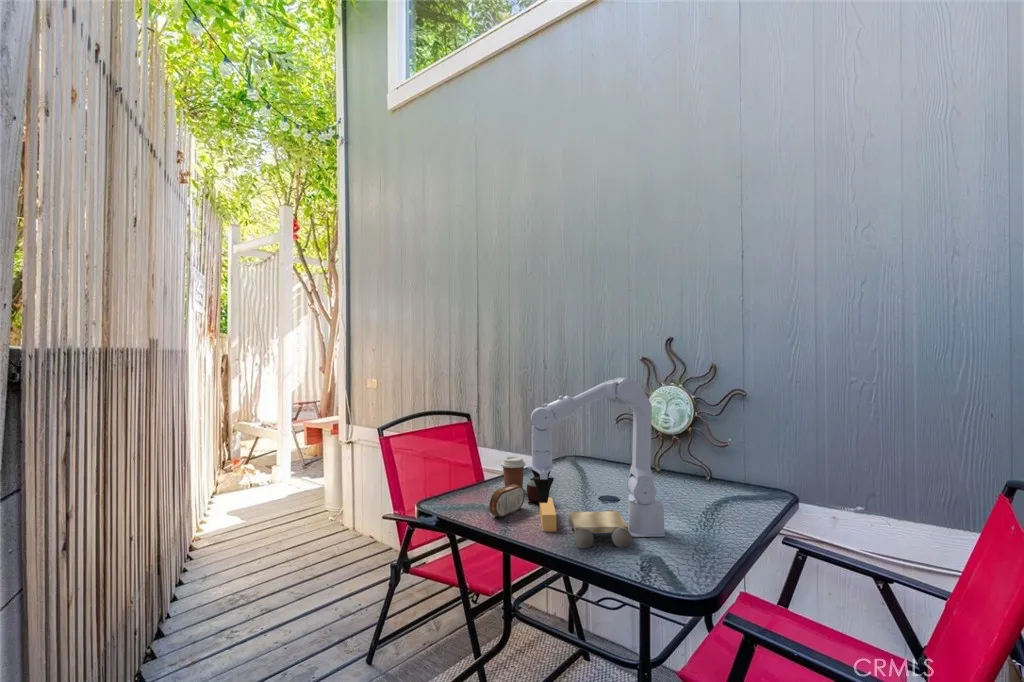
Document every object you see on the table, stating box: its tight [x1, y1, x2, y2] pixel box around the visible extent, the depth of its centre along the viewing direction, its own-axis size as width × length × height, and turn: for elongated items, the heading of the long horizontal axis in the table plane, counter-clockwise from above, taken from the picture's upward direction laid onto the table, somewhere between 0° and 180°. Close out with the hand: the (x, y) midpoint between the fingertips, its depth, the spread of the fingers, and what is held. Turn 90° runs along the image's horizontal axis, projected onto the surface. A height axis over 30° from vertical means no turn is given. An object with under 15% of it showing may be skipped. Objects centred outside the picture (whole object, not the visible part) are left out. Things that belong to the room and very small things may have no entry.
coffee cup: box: [500, 455, 527, 489], centre depth 180 cm, size 9×9×12 cm
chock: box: [539, 497, 557, 532], centre depth 148 cm, size 4×16×5 cm, turn 0°
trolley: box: [567, 509, 633, 550], centre depth 135 cm, size 15×15×5 cm
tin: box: [489, 484, 525, 518], centre depth 156 cm, size 15×3×8 cm, turn 141°
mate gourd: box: [526, 477, 540, 506], centre depth 166 cm, size 8×8×15 cm
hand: (542, 498), depth 138 cm, fingers open, 7 cm apart
